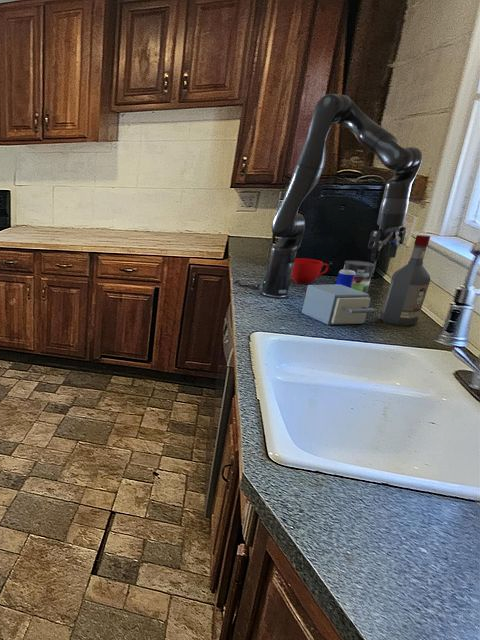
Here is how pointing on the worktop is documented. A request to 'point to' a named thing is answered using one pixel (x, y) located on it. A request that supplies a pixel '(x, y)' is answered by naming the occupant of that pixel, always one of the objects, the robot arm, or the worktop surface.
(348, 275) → the beverage can
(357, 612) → the worktop surface
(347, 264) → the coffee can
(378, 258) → the robot arm
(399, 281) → the liquor
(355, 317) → the drawer
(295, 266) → the ceramic cup
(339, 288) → the cabinet
